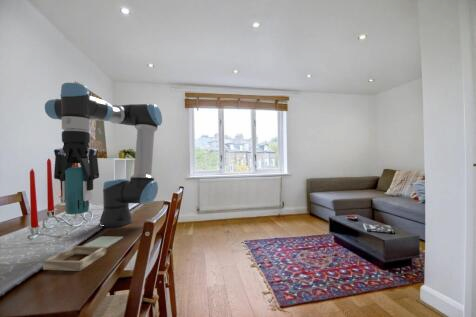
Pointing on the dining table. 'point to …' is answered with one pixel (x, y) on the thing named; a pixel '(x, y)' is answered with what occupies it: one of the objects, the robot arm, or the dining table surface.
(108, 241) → the rubber mat
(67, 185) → the beverage bottle
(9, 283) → the dining table surface
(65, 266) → the wooden collar
